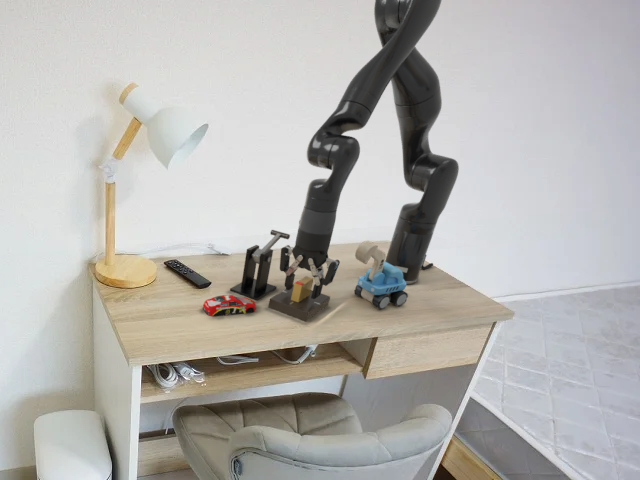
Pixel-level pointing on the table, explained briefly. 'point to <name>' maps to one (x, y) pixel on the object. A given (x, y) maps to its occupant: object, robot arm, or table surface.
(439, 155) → the robot arm
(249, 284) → the lever bracket
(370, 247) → the toy excavator
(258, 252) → the grey lever handle
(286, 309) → the lock plate
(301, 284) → the lock knob
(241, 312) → the race car
